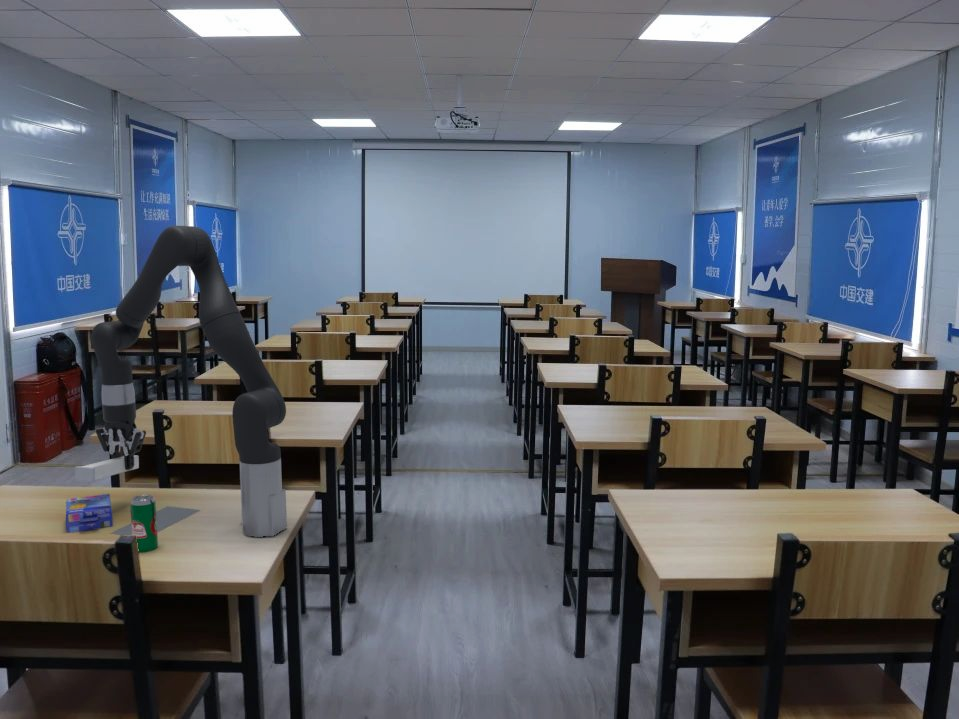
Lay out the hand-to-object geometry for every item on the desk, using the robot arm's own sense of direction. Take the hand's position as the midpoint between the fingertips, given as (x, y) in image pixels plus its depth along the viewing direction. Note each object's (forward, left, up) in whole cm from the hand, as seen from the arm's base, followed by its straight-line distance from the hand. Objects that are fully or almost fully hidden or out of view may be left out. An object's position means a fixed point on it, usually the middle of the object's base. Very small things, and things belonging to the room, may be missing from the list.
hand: (123, 468), depth 200 cm
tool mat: (-15, +7, -11) cm, 20 cm away
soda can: (-24, +22, -11) cm, 34 cm away
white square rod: (0, +4, 0) cm, 4 cm away
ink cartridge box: (+5, +7, -8) cm, 12 cm away
